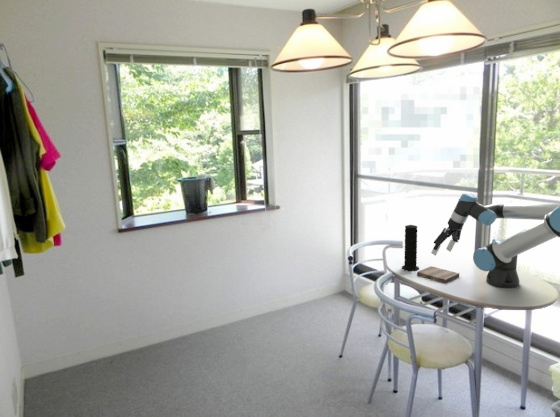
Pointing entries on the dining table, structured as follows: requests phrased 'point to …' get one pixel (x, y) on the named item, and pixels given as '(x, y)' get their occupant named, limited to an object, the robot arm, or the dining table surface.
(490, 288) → the dining table surface
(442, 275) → the walnut plate
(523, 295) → the dining table surface
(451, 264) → the dining table surface
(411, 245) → the handle grip
